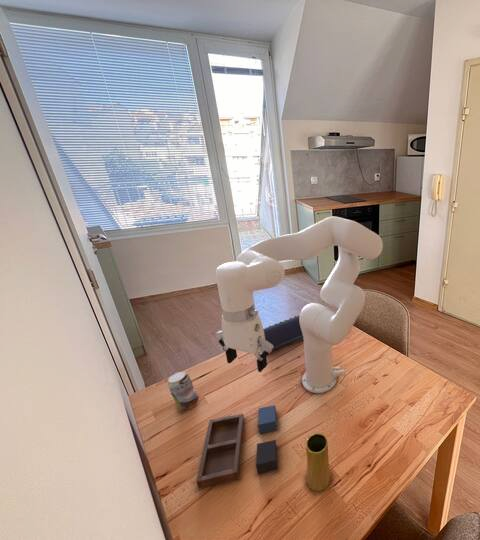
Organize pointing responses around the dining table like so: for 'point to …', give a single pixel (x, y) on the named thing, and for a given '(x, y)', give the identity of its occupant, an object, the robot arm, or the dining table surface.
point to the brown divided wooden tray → (221, 451)
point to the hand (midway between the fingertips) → (247, 364)
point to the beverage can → (182, 390)
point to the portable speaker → (283, 333)
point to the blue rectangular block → (267, 419)
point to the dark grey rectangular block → (266, 457)
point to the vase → (317, 462)
